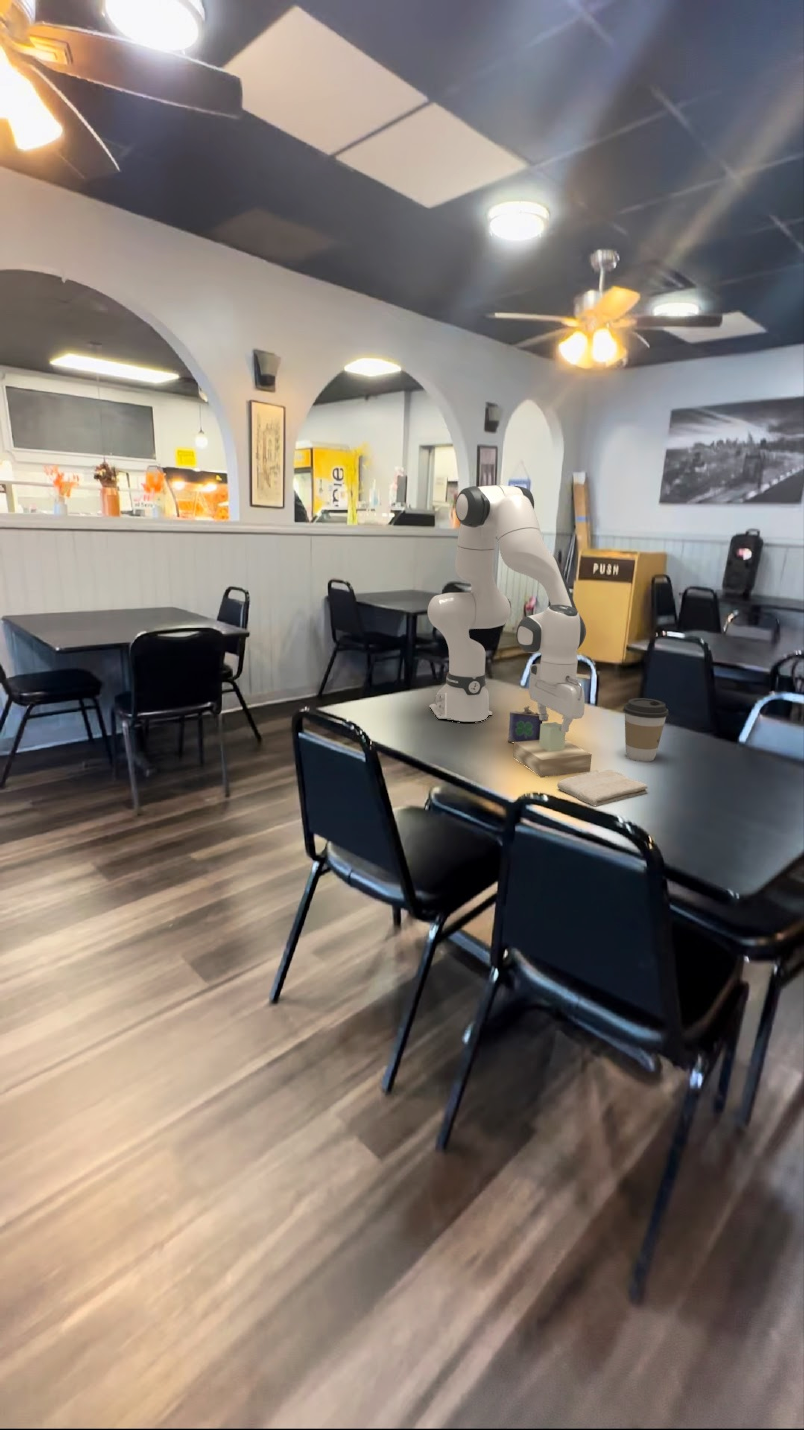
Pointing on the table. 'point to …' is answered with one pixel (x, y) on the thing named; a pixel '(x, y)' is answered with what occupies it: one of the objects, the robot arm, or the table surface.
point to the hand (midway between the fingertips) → (553, 726)
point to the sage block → (551, 737)
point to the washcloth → (601, 787)
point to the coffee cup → (643, 727)
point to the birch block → (552, 758)
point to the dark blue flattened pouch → (524, 726)
